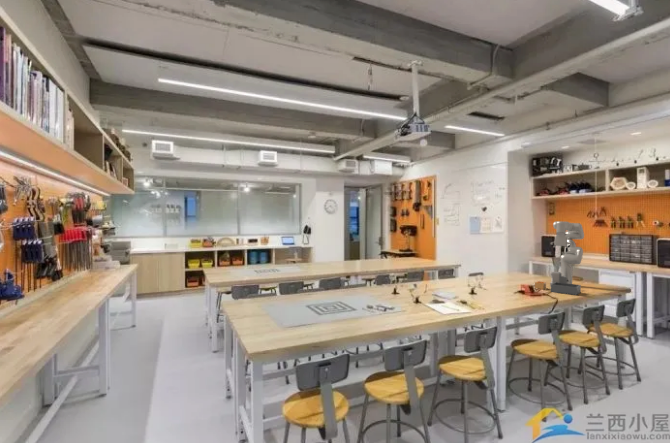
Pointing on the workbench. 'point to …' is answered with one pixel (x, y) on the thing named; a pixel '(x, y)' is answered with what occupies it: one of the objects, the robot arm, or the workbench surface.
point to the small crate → (540, 285)
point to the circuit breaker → (557, 278)
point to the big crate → (566, 288)
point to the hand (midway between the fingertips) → (560, 251)
